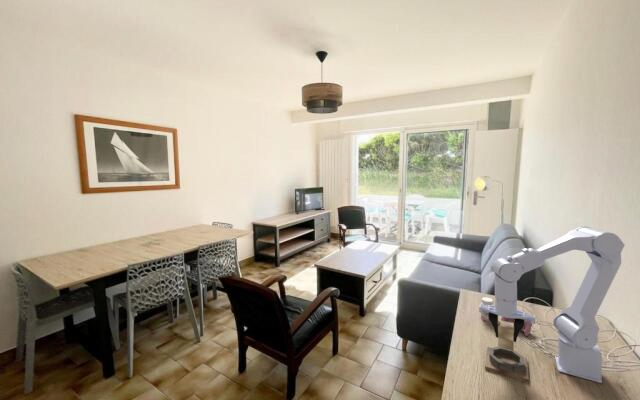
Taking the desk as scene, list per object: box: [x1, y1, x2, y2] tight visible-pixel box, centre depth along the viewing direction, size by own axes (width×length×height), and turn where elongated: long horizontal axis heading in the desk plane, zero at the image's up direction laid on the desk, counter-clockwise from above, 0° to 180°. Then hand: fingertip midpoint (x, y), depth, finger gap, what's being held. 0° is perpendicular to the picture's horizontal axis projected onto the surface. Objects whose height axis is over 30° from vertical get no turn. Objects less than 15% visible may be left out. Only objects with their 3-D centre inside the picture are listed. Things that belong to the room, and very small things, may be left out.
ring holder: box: [484, 346, 530, 383], centre depth 86 cm, size 11×11×3 cm
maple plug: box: [497, 319, 515, 351], centre depth 86 cm, size 4×4×7 cm
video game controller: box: [500, 316, 533, 337], centre depth 105 cm, size 10×5×7 cm, turn 35°
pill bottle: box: [480, 296, 495, 322], centre depth 113 cm, size 5×5×8 cm
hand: (505, 338), depth 86 cm, fingers closed on maple plug, 4 cm apart
